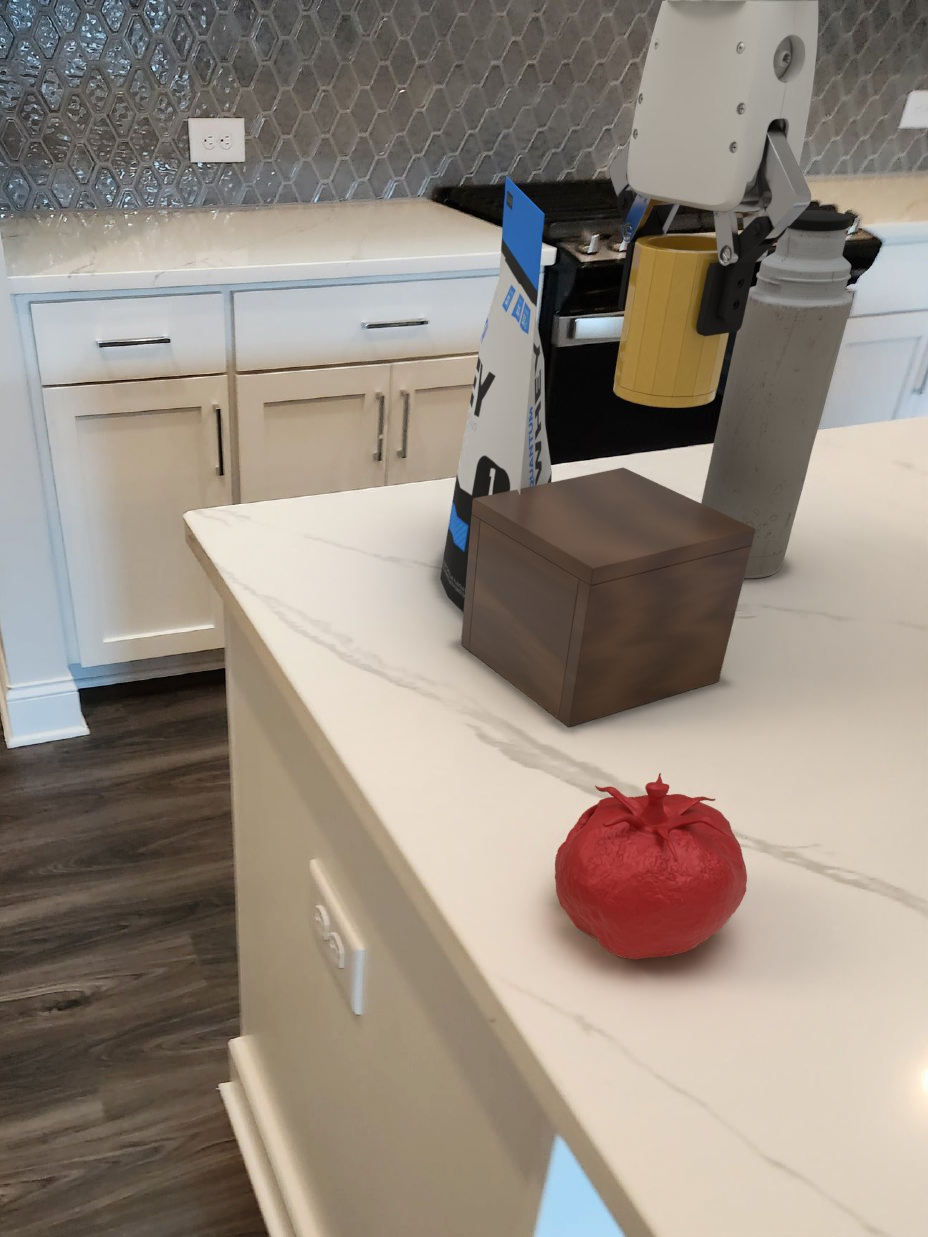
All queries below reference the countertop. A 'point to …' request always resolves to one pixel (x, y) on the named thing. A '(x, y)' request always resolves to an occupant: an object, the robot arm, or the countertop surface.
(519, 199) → the protein powder
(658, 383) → the cup
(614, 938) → the pomegranate
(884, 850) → the countertop surface
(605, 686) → the walnut box
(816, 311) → the thermos bottle
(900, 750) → the countertop surface
